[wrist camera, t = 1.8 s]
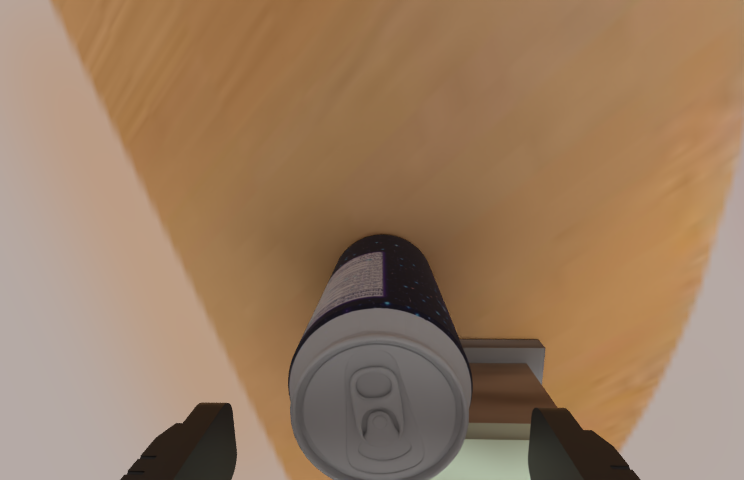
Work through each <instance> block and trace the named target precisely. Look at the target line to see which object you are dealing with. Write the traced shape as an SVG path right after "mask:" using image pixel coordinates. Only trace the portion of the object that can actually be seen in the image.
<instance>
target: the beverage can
mask: <svg viewBox="0 0 744 480" xmlns="http://www.w3.org/2000/svg"><path fill="white" fill-rule="evenodd" d="M288 388H289V396H290V401H291V407H290V415H291V425H292V428H293V432H294V436H295V438H296V440H297V442H298V445H299V447H300V448H301V450H302V451H303V453H304V454H305V456H306V457H307V458H308V459H309V460H310V462H311V463H312V464H313V465H314V466H315V467H316V468H318V469H319V470H320V471H321V472H323V473H324V474H325V475H327V476H328V477H330V478H332V479H333V480H430V479H431V478H433V477H435V476H436V475H438V474H439V473H440V472H441V471H443V470H444V469H445V468H446V467H447V466H448V465H449V464H450V463H451V462H452V461H453V460H454V458H455V457H456V455H457V454H458V452H459V451H460V449H461V447H462V445H463V442H464V440H465V438H466V434H467V429H468V424H469V408H470V404H471V400H472V393H473V381H472V373H471V369H470V365H469V362H468V359H467V357H466V354H465V352H464V349H463V347H462V344H461V342H460V340H459V337H458V335H457V332H456V330H455V327H454V325H453V322H452V320H451V318H450V315H449V313H448V310H447V308H446V305H445V303H444V301H443V298H442V296H441V293H440V291H439V288H438V286H437V283H436V281H435V279H434V276H433V274H432V271H431V269H430V266H429V264H428V262H427V260H426V258H425V257H424V255H423V254H422V253H421V251H420V250H419V249H418V248H417V247H415V246H414V245H413V244H411V243H410V242H408V241H406V240H404V239H402V238H399V237H396V236H392V235H373V236H369V237H366V238H363V239H361V240H359V241H357V242H355V243H354V244H352V245H351V246H350V247H349V248H348V249H347V250H346V251H345V252H344V253H343V254H342V256H341V257H340V259H339V261H338V263H337V265H336V267H335V269H334V271H333V273H332V275H331V277H330V280H329V282H328V284H327V286H326V288H325V290H324V292H323V294H322V296H321V299H320V301H319V303H318V305H317V307H316V309H315V311H314V313H313V315H312V318H311V320H310V322H309V324H308V326H307V328H306V330H305V332H304V334H303V337H302V339H301V341H300V343H299V345H298V347H297V349H296V351H295V354H294V356H293V359H292V361H291V365H290V370H289V378H288Z"/></svg>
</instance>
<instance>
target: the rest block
mask: <svg viewBox="0 0 744 480" xmlns="http://www.w3.org/2000/svg"><path fill="white" fill-rule="evenodd" d="M459 340H460V342H461V344H462V347H463V349H464V352H465V354H466V357H467V359H468V362H469V365H470V369H471V373H472V381H473V393H472V400H471V404H470V408H469V424H468V429H467V434H466V438H465V440H464V442H463V445H462V447H461V449H460V451H459V452H458V454H457V455H456V457H455V458H454V460H453V461H452V462H451V463H450V464H449V465H448V466H447V467H446V468H445V469H444V470H443V471H441V472H440V473H439V474H438V475H436V476H435V477H433V478H431V479H430V480H531V478H530V474H529V468H528V450H529V438H530V426H531V415H532V411H533V409H534V408H557V406H556V405H555V404H554V402H553V401H552V399H551V398H550V396H549V395H548V393H547V392H546V391H545V389H544V388H543V386H542V377H543V367H544V357H545V347H544V346H543V345H542V344H541V342H540V341H539V340H484V339H459Z"/></svg>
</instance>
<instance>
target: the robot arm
mask: <svg viewBox="0 0 744 480" xmlns="http://www.w3.org/2000/svg"><path fill="white" fill-rule="evenodd" d="M236 458H237V449H236V441H235V430H234V421H233V411H232V407H231V405H230V404H229V403H199V404H198V405H197V406H196V407H195V408H194V410H193V411H192V412H191V413H190V415H189V416H188V417H187V419H186V420H185V421H184V422H183V423H176V424H174V425H173V426H172V427H170V428H169V429H167V430H166V431H165V432H163V433H162V434H160V435H159V436H158V437H156V438H155V440H154V441H153V442H152V443H151V444H150V445H149V446H148V448H147V449H146V450H145V451H144V452H143V454H142V455H141V458H140V459H138V460H137V461H136V462H135V463H134V464H133V465H132V467H131V468H130V469H129V470H128V473H127V475H124V476H123V477H122V478H121V480H231V479H232V476H233V473H234V470H235V465H236ZM528 468H529V474H530V478H531V480H640V479H639V477H638V476H637V475H636V474H635V473H634V471H633V470H630V468H629V465H628V464H627V463H626V462H625V460H624V459H623V458H622V456H621V455H620V454H619V453H618V452H617V450H616V449H615V448H614V447H613V446H612V445H611V444H609V443H608V442H607V441H605V440H604V439H603V438H601V437H600V436H599V435H597V434H596V433H595V432H593V431H592V430H583V429H582V428H581V427H580V425H579V424H578V423H577V421H576V420H575V419H574V417H573V416H572V415H571V413H570V412H569V411H568V410H567V409H566V408H534V409H533V411H532V415H531V426H530V438H529V450H528Z"/></svg>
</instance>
